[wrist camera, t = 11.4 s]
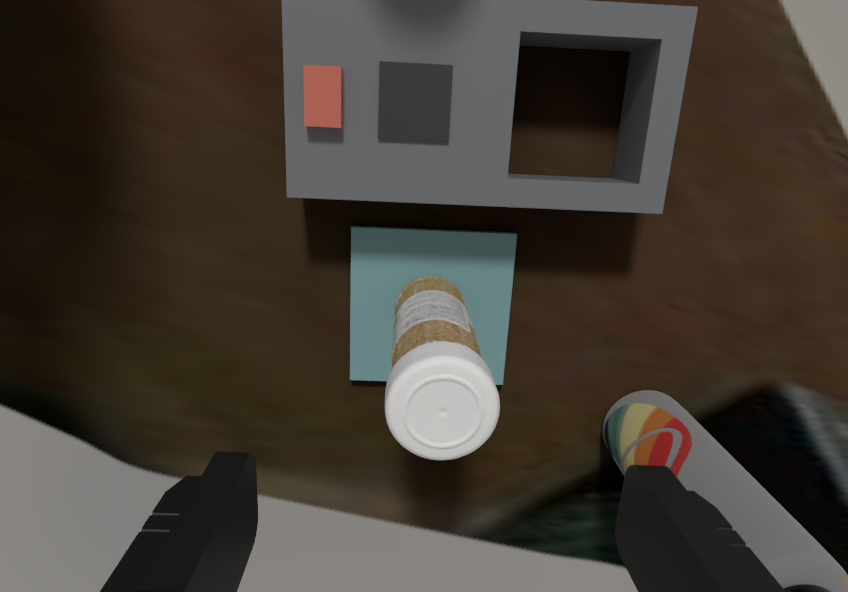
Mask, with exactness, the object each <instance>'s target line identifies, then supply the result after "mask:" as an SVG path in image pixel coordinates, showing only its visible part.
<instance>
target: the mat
mask: <svg viewBox="0 0 848 592" xmlns="http://www.w3.org/2000/svg"><path fill="white" fill-rule="evenodd" d="M516 242H517V234H516V233H515V232H492V231H468V230H445V229H421V228H398V227H374V226H352V227H351V308H350V380H366V381H387V380H388V377H389V374H390V372H391V354H392V343H393V330H394V321H395V313H394V310H395V303H396V300H397V297H398V295H399V293H400V292H401V290H402V289H403V288H404V287H405V286H406V285H407V284H408V283H410V282H411V281H413V280H415V279H417V278H420V277H424V276H437V277H440V278H445V279H447V280H448V281H450V282H451V283H453V284H454V285H455V286H456V287H457V288H458V289H459V290H460V292H461V293H462V295H463V297H464V299H465V302H466V309H467V311H468V313H469V316H470V319H471V322H472V325H473V328H474V330H475V333H476V339H477V343H478V345H479V349H480V353H481V356H482V359H483V360H484V361H485V362H486V364H487V366H488V367H489V369H490V371H491V373H492V376H493V379H494V381H495V384H496V385H503V376H504V366H505V356H506V345H507V335H508V325H509V314H510V304H511V294H512V283H513V273H514V263H515V252H516Z"/></svg>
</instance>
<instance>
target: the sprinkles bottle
mask: <svg viewBox="0 0 848 592" xmlns="http://www.w3.org/2000/svg"><path fill="white" fill-rule="evenodd" d="M394 313H395V321H394V330H393V343H392V354H391V372H390V374H389V377H388V380H387V384H386V391H385V416H386V420H387V424H388V427H389V429H390V431H391V433H392V434H393V436H394V437H395V439H396V440H397V441H398V442H399V443H400V444H401V445H402V446H403V447H404V448H406V449H407V450H408V451H410V452H411V453H413V454H415V455H417V456H420V457H423V458H427V459H431V460H451V459H456V458H460V457H463V456H465V455H467V454H469V453H471V452H473V451H475V450H476V449H478V448H479V447H480V446H481V445H482V444H483V443H484V442H486V440H487V439H488V438H489V437H490V435H491V434H492V432H493V430H494V429H495V426H496V424H497V421H498V418H499V412H500V401H499V395H498V391H497V387H496V384H495V381H494V379H493V376H492V373H491V371H490V369H489V367H488V366H487V364H486V362H485V361H484V360H483V359H482V356H481V353H480V349H479V345H478V343H477V339H476V333H475V330H474V328H473V325H472V322H471V319H470V316H469V313H468V311H467V309H466V302H465V299H464V297H463V295H462V293H461V292H460V290H459V289H458V288H457V287H456V286H455V285H454V284H453V283H451V282H450V281H448V280H447V279H445V278H440V277H437V276H424V277H420V278H417V279H415V280H413V281H411V282H410V283H408V284H407V285H406V286H405V287H404V288H403V289H402V290H401V292H400V293H399V295H398V297H397V300H396V303H395V310H394Z"/></svg>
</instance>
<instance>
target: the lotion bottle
mask: <svg viewBox="0 0 848 592" xmlns="http://www.w3.org/2000/svg"><path fill="white" fill-rule="evenodd" d="M603 438H604V442H605V444H606V446H607V449H608V450H609V452H610V454H611V456H612V457H613V459H614V461H615V462H616V464H617V466H618V467H619V469H620V470H621V472H622V474H623V475H624V477H625V473H626V470H627V468H628V467H629V466H630V465H653V466H667V467H668V468H670V470H671V471H672V472H673V473H674V474H675V476H676V477H677V478H678V480H679V481H680V482H681V483H682V485H683V486H684V487H685V489H686V490H687V491H695V492H696V493H697V494H699V495H700V496H701V497H703V498H704V499H706V500H707V501H708V502H710V503H711V504H712V505H714V506H715V507H717V509H718V510H719V511H720V512H721V513H722V515H723V516H724V517H725V518H726V520H727V521H728V522H729V523H730V524H731V526H732V529H733V531H736V532H737V533H738V534H739V535H740V537H741V538H742V539H743V540H744V541H745V543H746V547H750V549H751V550H752V551H753V552H754V554H755V555H756V556H757V557H758V558H759V560H760V561H761V562H762V563H763V565H764V566H765V567H766V568H767V569H768V571H769V572H770V573H771V574H772V575H773V577H774V578H775V579H776V580H777V582H778V583H779V584H780V585H781V586H782V588H783V589H784V590H785V591H786V592H848V575H847V574H846V572H845V571H844V570H843V568H842V567H841V566H840V565H839V564H838V563H837V562H836V561H835V559H834V558H833V557H832V556H831V555H830V554H829V553H828V552H827V551H826V550H825V549H824V548H823V547H822V546H821V545H820V544H819V543H818V542H817V541H816V540H815V539H814V538H813V537H812V536H811V535H810V534H809V533H808V532H807V531H806V530H805V529H804V528H803V527H802V526H801V525H800V524H799V523H798V522H797V521H796V520H795V519H794V518H793V517H792V516H791V515H790V514H789V513H788V512H787V511H786V510H785V509H784V508H783V507H782V506H781V505H780V504H779V503H778V502H777V501H776V500H775V499H774V498H773V497H772V496H771V495H770V494H769V493H768V492H767V491H766V490H765V489H764V488H763V487H762V486H761V485H760V484H759V483H758V482H757V481H756V480H755V479H754V478H753V477H752V476H751V475H750V474H749V473H748V472H747V471H746V470H745V469H744V468H743V467H742V466H741V465H740V464H739V463H738V462H737V461H736V460H735V459H734V458H733V457H732V456H731V455H730V454H729V453H728V452H727V451H726V450H725V449H724V448H723V447H722V446H721V445H720V444H719V443H718V442H717V441H716V440H715V439H714V438H713V437H712V436H711V435H710V434H709V433H708V432H707V431H706V430H705V429H704V428H703V427H702V426H701V425H700V424H699V423H698V422H697V421H696V420H695V419H694V418H693V417H692V416H691V415H690V414H689V413H688V412H687V411H686V410H685V409H684V408H683V407H682V406H681V405H679V404H678V403H677V402H676V401H675V400H674V399H672V398H671V397H669V396H668V395H666V394H663V393H661V392H658V391H652V390H643V391H637V392H633V393H631V394H628V395H626V396H624V397H623V398H621V399H620V400H618V401H617V402H616V403H615V404H614V405H613V406H612V407H611V408H610V410H609V411H608V413H607V415H606V417H605V419H604V423H603Z"/></svg>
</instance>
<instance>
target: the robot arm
mask: <svg viewBox="0 0 848 592" xmlns="http://www.w3.org/2000/svg"><path fill="white" fill-rule="evenodd" d="M257 524H258V502H257V477H256V459H255V455H254V453H247V452H216V453H215V454H214V456H213V457H212V459H211V461H210V462H209V464H208V466H207V467H206V469H205V471H204V473H203V474H202V476H186V477H185V478H183V479H182V480H181V481H179V482H178V483H177V484H175V485H174V486H173V487H171V488H170V489H169V490H168V491H166V492H165V494H164V495H163V497H162V498H161V500H160V501H159V503H158V504H157V506H156V507H155V509H154V510H153V514H152V515H151V516H149V518H148V519H147V521H146V522H145V524H144V526H143V527H142V531H141V532H139V533H138V535H137V536H136V538H135V539H134V541H133V542H132V544H131V545H130V547H129V549H128V550H127V551H126V553H125V554H124V556H123V557H122V559H121V561H120V562H119V564H118V565H117V567H116V568H115V570H114V571H113V573H112V574H111V576H110V577H109V579H108V580H107V582H106V583H105V585H104V586H103V588H102V589H101V591H100V592H237V589H238V587H239V584H240V581H241V578H242V576H243V573H244V570H245V567H246V565H247V562H248V559H249V556H250V553H251V551H252V548H253V545H254V541H255V537H256V531H257ZM615 538H616V544H617V548H618V551H619V554H620V556H621V558H622V560H623V562H624V564H625V566H626V568H627V570H628V572H629V574H630V576H631V578H632V580H633V582H634V584H635V586H636V588H637V590H638V592H786V591H785V590H784V589H783V588H782V586H781V585H780V584H779V583H778V582H777V580H776V579H775V578H774V577H773V575H772V574H771V573H770V572H769V571H768V569H767V568H766V567H765V566H764V565H763V563H762V562H761V561H760V560H759V558H758V557H757V556H756V555H755V554H754V552H753V551H752V550H751V549H750V547H746V543H745V541H744V540H743V539H742V538H741V537H740V535H739V534H738V533H737V532H736V531H733V529H732V526H731V524H730V523H729V522H728V521H727V520H726V518H725V517H724V516H723V515H722V513H721V512H720V511H719V510H718V509H717V507H715V506H714V505H712V504H711V503H710V502H708V501H707V500H706V499H704V498H703V497H701V496H700V495H699V494H697V493H696V492H695V491H687V490H686V489H685V487H684V486H683V485H682V483H681V482H680V481H679V480H678V478H677V477H676V476H675V474H674V473H673V472H672V471H671V470H670V468H668V467H667V466H653V465H630V466H629V467H628V468H627V470H626V473H625V478H624V483H623V488H622V493H621V498H620V503H619V508H618V513H617V518H616V524H615Z"/></svg>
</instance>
